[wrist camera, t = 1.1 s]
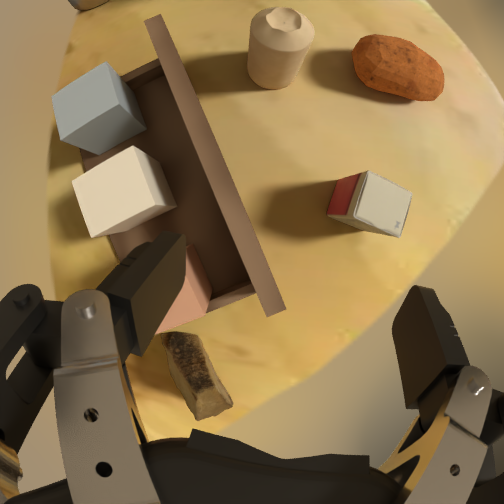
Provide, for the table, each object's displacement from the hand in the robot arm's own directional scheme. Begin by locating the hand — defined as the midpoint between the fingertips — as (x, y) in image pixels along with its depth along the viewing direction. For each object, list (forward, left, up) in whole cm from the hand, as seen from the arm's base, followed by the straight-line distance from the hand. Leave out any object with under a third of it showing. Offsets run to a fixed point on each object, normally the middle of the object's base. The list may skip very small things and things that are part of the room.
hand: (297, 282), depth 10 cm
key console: (-11, -2, -20) cm, 23 cm away
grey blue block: (-20, +1, -20) cm, 28 cm away
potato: (+1, +26, -21) cm, 33 cm away
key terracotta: (-4, -8, -20) cm, 22 cm away
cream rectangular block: (-12, -4, -20) cm, 24 cm away
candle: (-10, +16, -20) cm, 28 cm away
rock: (+4, -16, -21) cm, 27 cm away
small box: (+6, +9, -21) cm, 23 cm away
